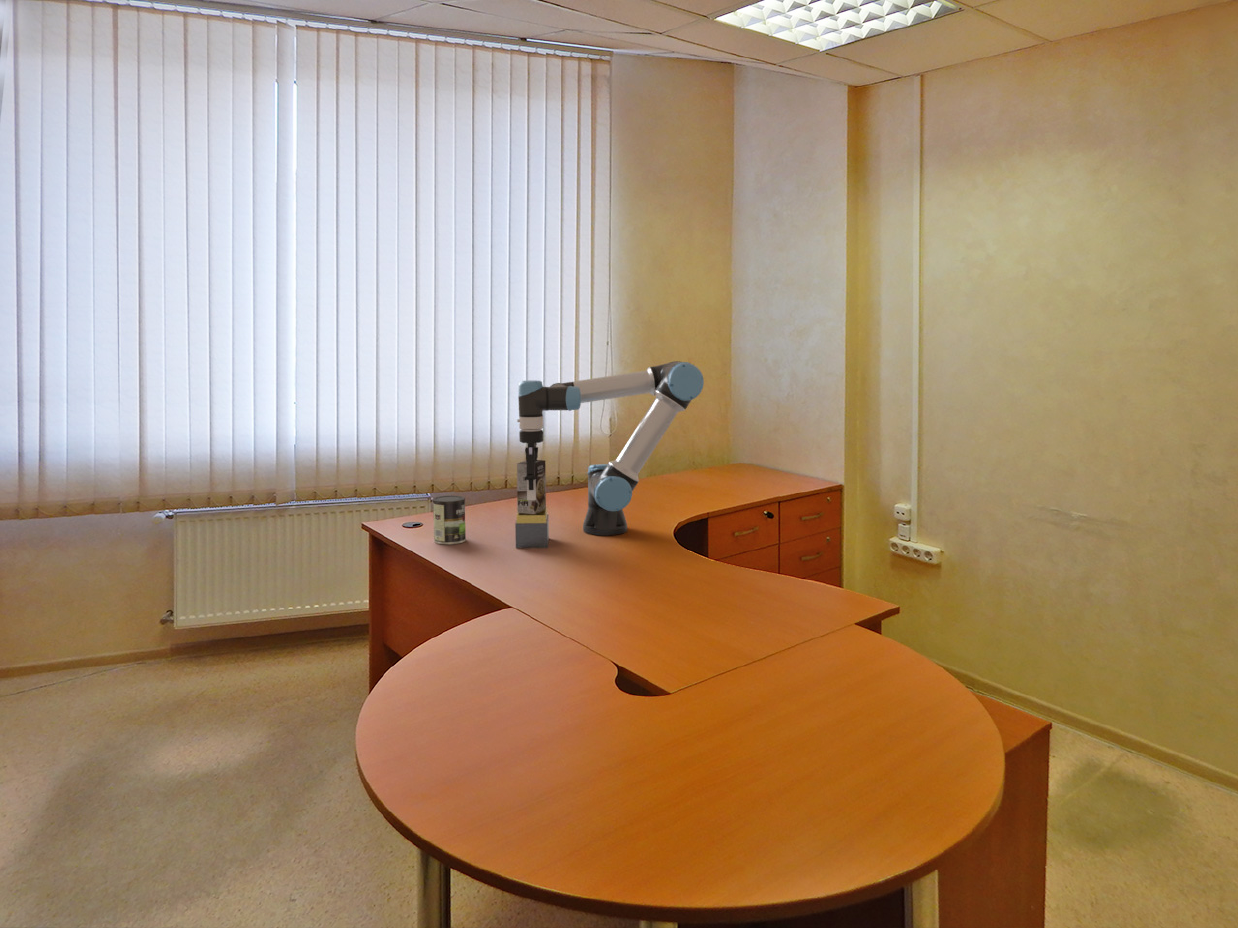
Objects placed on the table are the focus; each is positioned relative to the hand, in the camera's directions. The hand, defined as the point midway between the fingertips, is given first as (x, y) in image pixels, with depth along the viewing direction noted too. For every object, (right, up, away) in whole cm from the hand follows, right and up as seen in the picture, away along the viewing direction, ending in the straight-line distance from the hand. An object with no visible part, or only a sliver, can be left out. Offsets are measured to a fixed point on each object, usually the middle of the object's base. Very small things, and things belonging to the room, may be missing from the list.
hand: (532, 495), depth 270 cm
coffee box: (0, -5, +1) cm, 5 cm away
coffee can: (-27, -15, +5) cm, 32 cm away
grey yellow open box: (0, -15, +2) cm, 16 cm away
